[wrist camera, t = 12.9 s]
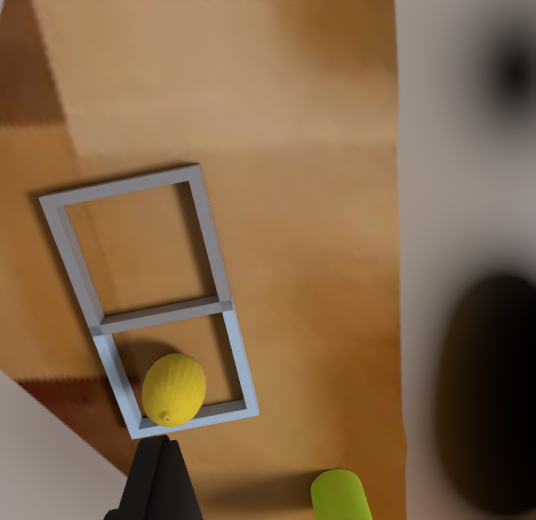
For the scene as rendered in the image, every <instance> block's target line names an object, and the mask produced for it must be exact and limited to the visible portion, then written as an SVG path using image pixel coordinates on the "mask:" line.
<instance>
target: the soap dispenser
mask: <svg viewBox="0 0 536 520" xmlns="http://www.w3.org/2000/svg"><path fill="white" fill-rule="evenodd" d="M311 497H312V503H313V509H314V515H315V520H372V516H371V513H370V510H369V507H368V504H367V500H366V497H365V494H364V491H363V487H362V484H361V481H360V479H359V477H358V476H357V475H356V474H354V473H353V472H351V471H349V470H345V469H333V470H329V471H326V472H324V473H322V474H320V475H319V476H318V477H317V478H316V479H315V480H314V481H313V483H312V485H311Z"/></svg>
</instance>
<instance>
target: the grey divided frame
mask: <svg viewBox="0 0 536 520" xmlns="http://www.w3.org/2000/svg"><path fill="white" fill-rule="evenodd" d="M185 181H189V184H190V188H191V192H192V195H193V199H194V203H195V207H196V211H197V215H198V219H199V223H200V227H201V231H202V235H203V239H204V243H205V246H206V250H207V254H208V258H209V262H210V266H211V270H212V274H213V278H214V282H215V286H216V290H217V293H218V295H216V296H211V297H206V298H201V299H196V300H191V301H186V302H180V303H175V304H170V305H165V306H160V307H155V308H150V309H144V310H139V311H134V312H129V313H124V314H119V315H114V316H108V317H105V315H104V312H103V310H102V307H101V304H100V301H99V299H98V296H97V293H96V291H95V288H94V285H93V282H92V280H91V277H90V274H89V272H88V269H87V266H86V263H85V261H84V258H83V255H82V253H81V250H80V247H79V244H78V242H77V239H76V236H75V233H74V231H73V228H72V225H71V223H70V220H69V217H68V214H67V212H66V209H65V206H64V205H69V204H74V203H79V202H84V201H89V200H94V199H99V198H104V197H109V196H114V195H119V194H124V193H129V192H134V191H139V190H144V189H149V188H155V187H160V186H165V185H170V184H175V183H180V182H185ZM39 201H40V203H41V206H42V208H43V211H44V213H45V216H46V219H47V221H48V224H49V226H50V229H51V232H52V234H53V237H54V239H55V242H56V244H57V247H58V250H59V252H60V255H61V257H62V260H63V262H64V265H65V268H66V270H67V273H68V275H69V278H70V281H71V283H72V286H73V288H74V291H75V293H76V296H77V299H78V301H79V304H80V306H81V309H82V311H83V314H84V317H85V319H86V322H87V324H88V327H89V330H90V332H91V335H92V337H93V340H94V342H95V345H96V348H97V350H98V353H99V355H100V358H101V361H102V363H103V366H104V368H105V371H106V373H107V376H108V379H109V381H110V384H111V386H112V389H113V391H114V394H115V397H116V399H117V402H118V404H119V407H120V410H121V412H122V415H123V417H124V420H125V422H126V425H127V428H128V430H129V433H130V435H131V438H132V439H136V438H141V437H147V436H152V435H157V434H163V433H168V432H173V431H178V430H184V429H189V428H194V427H200V426H205V425H210V424H215V423H221V422H226V421H231V420H237V419H242V418H247V417H252V416H258V415H259V407H258V401H257V397H256V393H255V389H254V384H253V380H252V376H251V372H250V368H249V364H248V360H247V356H246V351H245V347H244V343H243V339H242V335H241V331H240V327H239V322H238V318H237V314H236V310H235V306H234V302H233V298H232V294H231V289H230V285H229V281H228V277H227V273H226V269H225V265H224V260H223V256H222V252H221V248H220V244H219V240H218V236H217V232H216V227H215V223H214V219H213V215H212V211H211V207H210V203H209V199H208V194H207V190H206V186H205V182H204V178H203V174H202V170H201V165H200V163H199V164H194V165H189V166H184V167H179V168H174V169H169V170H164V171H159V172H154V173H149V174H144V175H139V176H134V177H129V178H124V179H119V180H114V181H109V182H104V183H99V184H94V185H89V186H84V187H79V188H74V189H69V190H64V191H59V192H54V193H49V194H46V195H43V196H41V197H39ZM220 312H222V313H223V317H224V321H225V325H226V329H227V333H228V337H229V341H230V344H231V348H232V352H233V356H234V360H235V364H236V368H237V372H238V376H239V380H240V384H241V388H242V391H243V395H244V399H242V400H237V401H232V402H226V403H221V404H216V405H211V406H205V407H200V409H199V410H198V412H197V414H196V415H195V416H194V417H193V418H192V419H191V420H190V421H189V422H187V423H185V424H183V425H181V426H178V427H163V426H160V425H158V424H156V423H155V422H153V421H152V420H151V419H150V418H149V417H148V418H142V416H141V413H140V410H139V407H138V405H137V402H136V399H135V397H134V394H133V391H132V388H131V386H130V383H129V380H128V378H127V375H126V372H125V369H124V367H123V364H122V361H121V358H120V356H119V353H118V350H117V348H116V345H115V342H114V339H113V337H112V334H111V333H116V332H122V331H127V330H132V329H137V328H142V327H147V326H153V325H158V324H163V323H168V322H173V321H178V320H184V319H189V318H194V317H199V316H204V315H209V314H215V313H220Z"/></svg>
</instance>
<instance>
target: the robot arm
mask: <svg viewBox="0 0 536 520" xmlns="http://www.w3.org/2000/svg"><path fill="white" fill-rule="evenodd" d="M103 520H203V517H202V514H201V511H200V508H199V505H198V502H197V499H196V496H195V493H194V490H193V487H192V484H191V481H190V477H189V474H188V471H187V468H186V465H185V462H184V459H183V456H182V453H181V450H180V447H179V444H178V442H177V440H171V441H170V439H169V437H168V436H167V435H161V436H155V437H150V438H144V439H141V440H140V441H139V444H138V447H137V450H136V453H135V456H134V459H133V463H132V466H131V469H130V472H129V476H128V479H127V482H126V486H125V489H124V492H123V495H122V498H121V502H120V505H119V508H118V509H113V510H110V511H108V513H107V514H106V515H105V517H104V519H103Z"/></svg>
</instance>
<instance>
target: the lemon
mask: <svg viewBox="0 0 536 520" xmlns="http://www.w3.org/2000/svg"><path fill="white" fill-rule="evenodd" d="M205 393H206V377H205V374H204V371H203V368H202V367H201V365H200V364H199V363H198V362H197V361H196V360H195V359H194V358H193V357H191V356H189V355H186V354H182V353H174V354H169V355H166V356H164V357H162V358H160V359H159V360H158V361H156V362H155V363H154V364H153V366H152V367H151V368H150V369H149V371H148V373H147V375H146V377H145V380H144V383H143V387H142V403H143V407H144V410H145V412H146V414H147V415H148V417H149V418H150V419H151V420H152V421H153V422H155V423H156V424H158V425H160V426H163V427H178V426H181V425H183V424H185V423H187V422H189V421H190V420H191V419H192V418H193V417H194V416H195V415H196V414H197V412H198V410H199V409H200V407H201V405H202V403H203V400H204V397H205Z"/></svg>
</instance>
